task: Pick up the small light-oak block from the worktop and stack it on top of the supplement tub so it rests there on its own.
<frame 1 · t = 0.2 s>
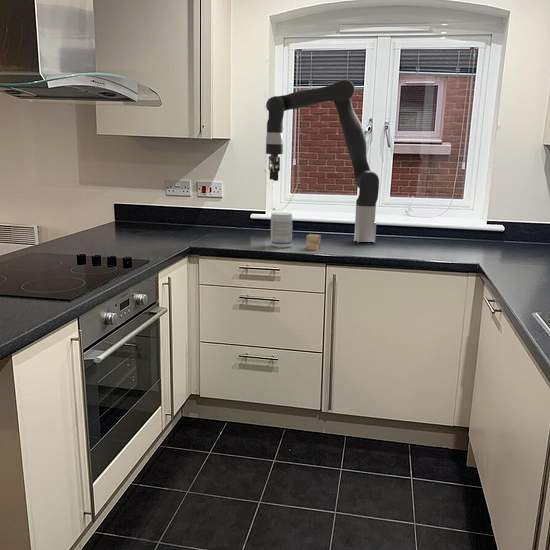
hand: (273, 180, 263), 29 cm above the worktop, tool pointing down, fingers open, 8 cm apart
supplement tub: (281, 246, 261), on the worktop
oak block: (313, 248, 257), on the worktop
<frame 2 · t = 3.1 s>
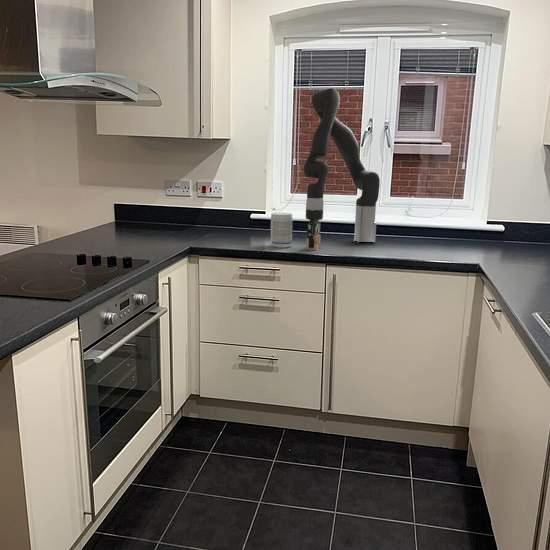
hand: (313, 246, 256), 1 cm above the worktop, tool pointing down, fingers closed on oak block, 5 cm apart
oak block: (313, 248, 257), on the worktop, touching gripper
everything else where it was.
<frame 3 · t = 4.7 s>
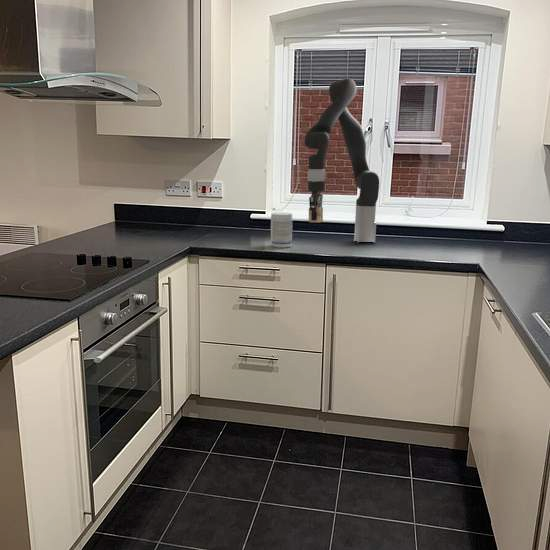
hand: (315, 219, 253), 13 cm above the worktop, tool pointing down, fingers closed on oak block, 5 cm apart
oak block: (315, 221, 254), point 12 cm above the worktop, touching gripper
everything else where it was.
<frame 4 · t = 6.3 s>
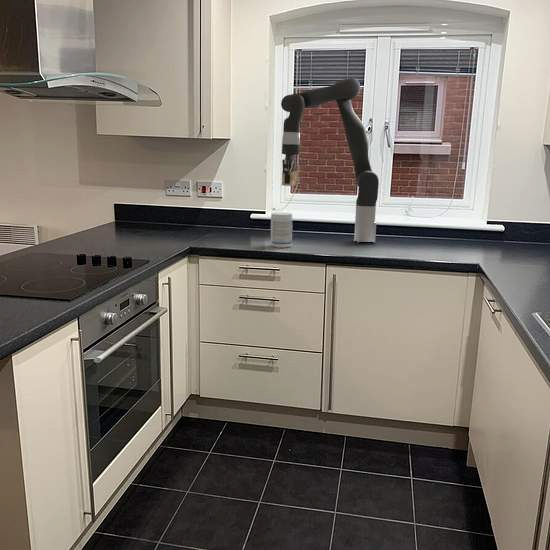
hand: (289, 183, 254), 28 cm above the worktop, tool pointing down, fingers closed on oak block, 5 cm apart
oak block: (288, 185, 254), point 27 cm above the worktop, touching gripper
everything else where it was.
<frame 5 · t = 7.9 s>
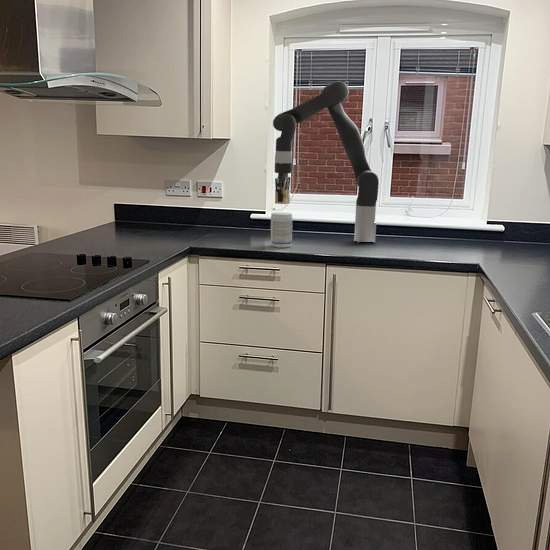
hand: (282, 201, 257), 20 cm above the worktop, tool pointing down, fingers closed on oak block, 5 cm apart
oak block: (282, 203, 257), point 19 cm above the worktop, touching gripper
everything else where it was.
when the fingers open (17 cm above the worktop, at t = 9.3 s): oak block drops 2 cm, resting on supplement tub.
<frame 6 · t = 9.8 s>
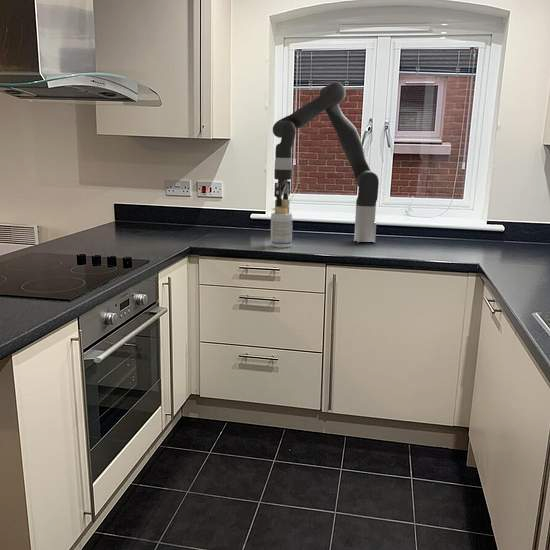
hand: (282, 205, 257), 18 cm above the worktop, tool pointing down, fingers open, 8 cm apart
supplement tub: (281, 246, 261), on the worktop, touching oak block
oak block: (282, 213, 258), point 15 cm above the worktop, touching supplement tub
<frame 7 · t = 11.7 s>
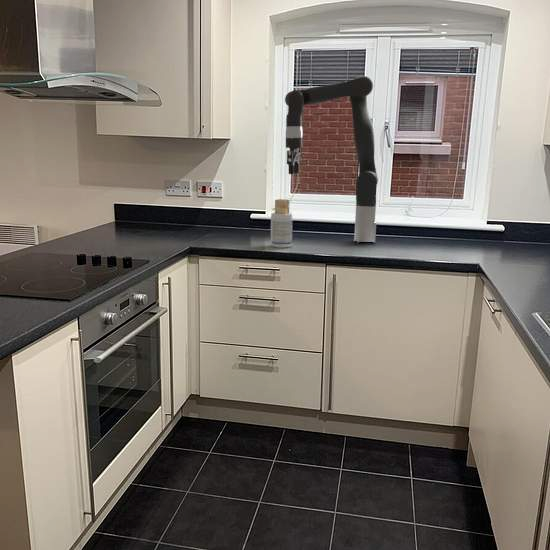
hand: (293, 173, 266), 32 cm above the worktop, tool pointing down, fingers open, 8 cm apart
nothing on the worktop moved.
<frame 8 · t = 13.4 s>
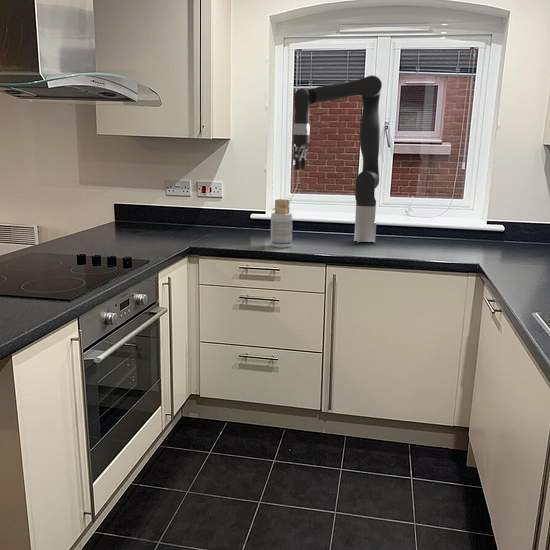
hand: (300, 169, 275), 33 cm above the worktop, tool pointing down, fingers open, 8 cm apart
nothing on the worktop moved.
at the end: oak block inside the target area on the supplement tub (0.1 cm from its centre), point 14.9 cm above the supplement tub's base; oak block tilted 0°; the gripper is holding nothing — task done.
